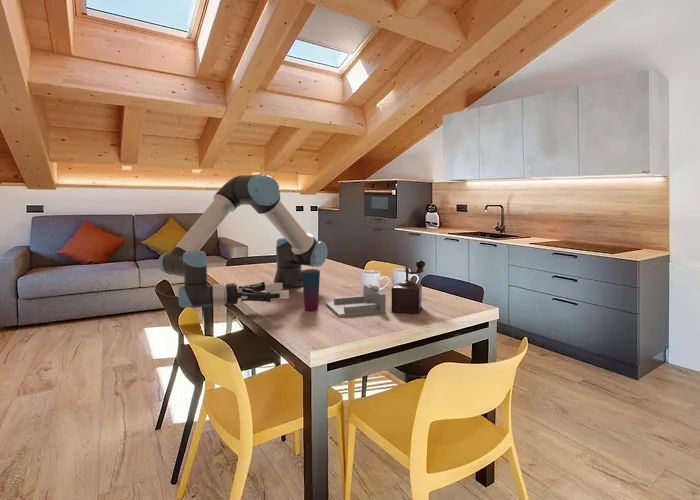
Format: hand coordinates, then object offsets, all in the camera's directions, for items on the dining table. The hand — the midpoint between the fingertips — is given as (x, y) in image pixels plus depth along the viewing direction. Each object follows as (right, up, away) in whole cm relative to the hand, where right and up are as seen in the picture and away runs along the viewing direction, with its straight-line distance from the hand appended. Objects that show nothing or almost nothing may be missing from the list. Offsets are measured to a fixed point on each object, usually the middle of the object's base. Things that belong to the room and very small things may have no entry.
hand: (285, 290), depth 155 cm
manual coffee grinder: (+47, -8, +6) cm, 48 cm away
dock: (+26, -8, +5) cm, 27 cm away
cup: (+9, -8, +4) cm, 13 cm away
